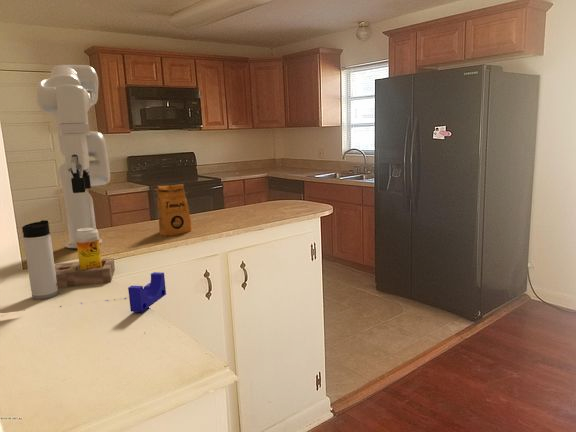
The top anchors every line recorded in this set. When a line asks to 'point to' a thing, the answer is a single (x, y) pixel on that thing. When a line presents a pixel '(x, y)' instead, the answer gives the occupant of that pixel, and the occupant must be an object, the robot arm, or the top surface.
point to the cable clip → (147, 293)
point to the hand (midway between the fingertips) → (82, 190)
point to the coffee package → (173, 210)
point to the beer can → (88, 248)
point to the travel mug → (40, 260)
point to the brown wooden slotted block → (83, 274)
